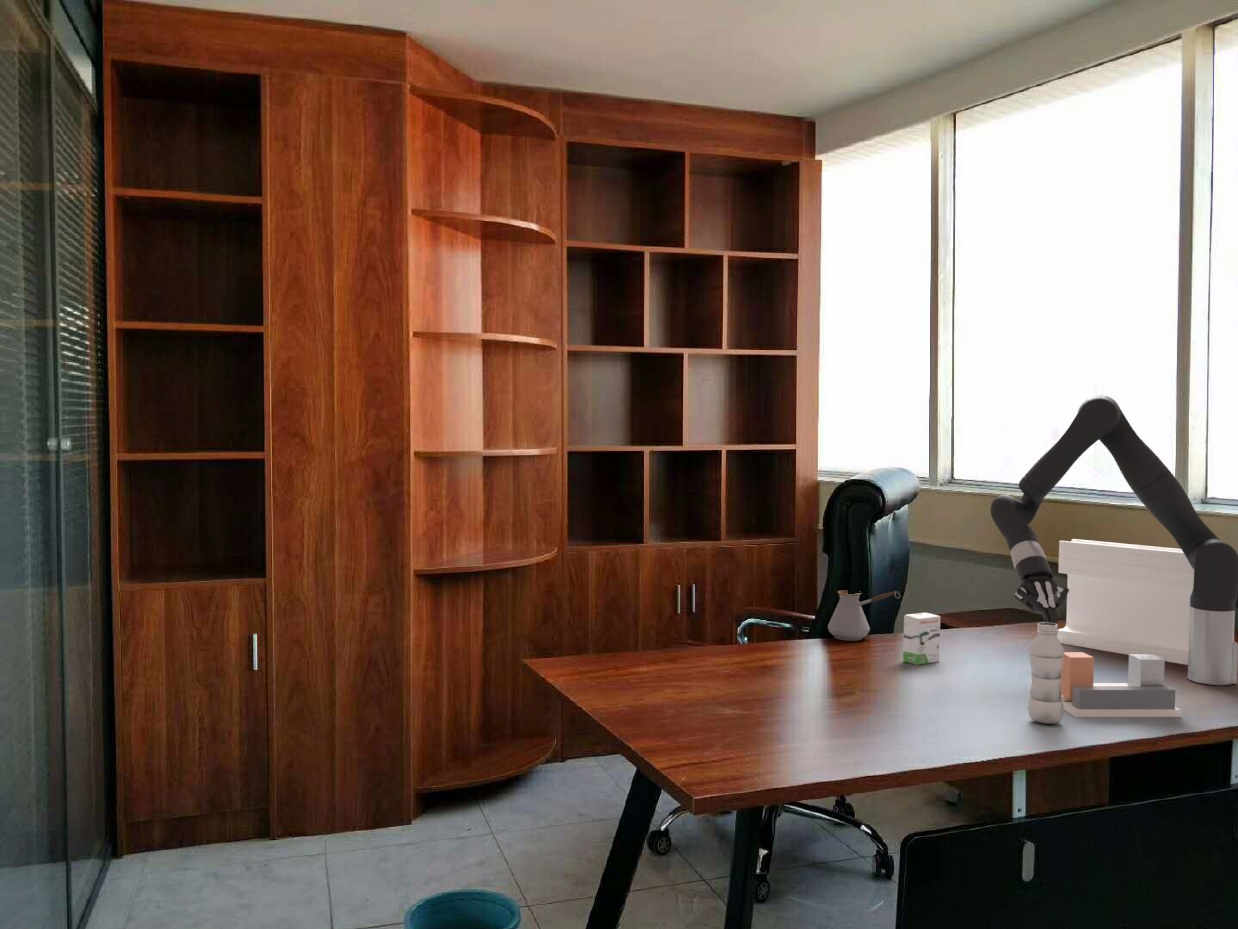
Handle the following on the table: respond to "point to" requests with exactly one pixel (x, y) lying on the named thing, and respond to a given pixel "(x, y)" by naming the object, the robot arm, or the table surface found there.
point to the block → (1127, 598)
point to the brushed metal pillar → (1145, 670)
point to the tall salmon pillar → (1076, 672)
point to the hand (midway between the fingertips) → (1053, 624)
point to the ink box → (921, 638)
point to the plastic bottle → (1046, 675)
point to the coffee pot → (851, 616)
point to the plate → (1115, 711)
